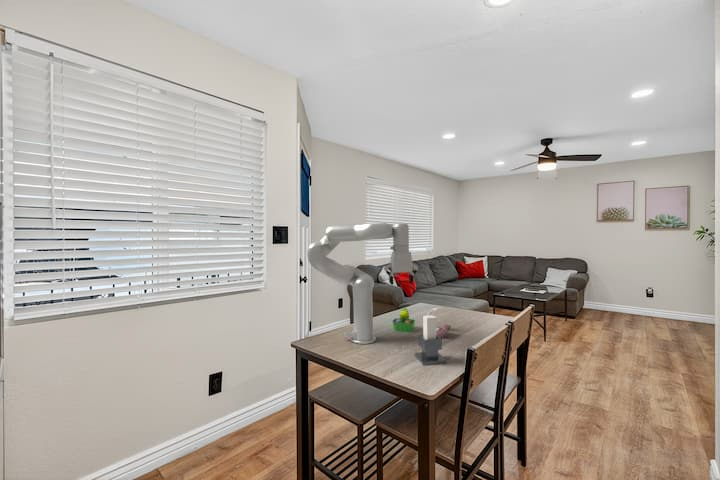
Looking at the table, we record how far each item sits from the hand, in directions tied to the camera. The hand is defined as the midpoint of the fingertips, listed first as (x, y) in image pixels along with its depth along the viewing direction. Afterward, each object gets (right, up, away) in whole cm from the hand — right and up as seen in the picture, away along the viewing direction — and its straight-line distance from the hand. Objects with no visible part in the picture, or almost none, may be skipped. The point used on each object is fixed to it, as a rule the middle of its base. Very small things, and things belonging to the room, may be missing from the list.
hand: (401, 283), depth 152 cm
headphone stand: (+20, -28, +18) cm, 39 cm away
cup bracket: (+9, -29, -21) cm, 37 cm away
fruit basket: (+4, -28, +20) cm, 35 cm away
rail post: (+9, -23, -21) cm, 32 cm away
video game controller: (+23, -28, +8) cm, 37 cm away
